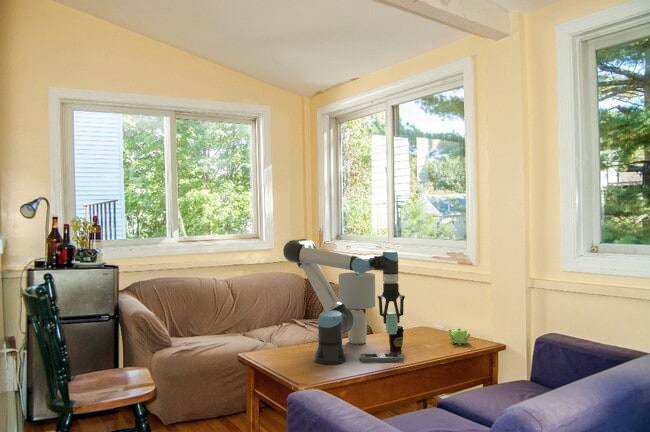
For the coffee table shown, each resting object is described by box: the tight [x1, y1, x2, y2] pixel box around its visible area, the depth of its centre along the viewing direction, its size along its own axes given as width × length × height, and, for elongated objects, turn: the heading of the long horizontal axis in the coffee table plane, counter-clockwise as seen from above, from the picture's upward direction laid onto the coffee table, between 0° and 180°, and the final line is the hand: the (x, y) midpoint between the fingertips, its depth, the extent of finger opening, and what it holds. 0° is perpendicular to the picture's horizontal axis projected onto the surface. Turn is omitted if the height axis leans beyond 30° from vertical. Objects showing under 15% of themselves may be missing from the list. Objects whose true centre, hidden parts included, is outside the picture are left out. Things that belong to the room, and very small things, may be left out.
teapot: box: [448, 327, 471, 346], centre depth 285 cm, size 11×12×8 cm
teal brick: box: [386, 311, 397, 335], centre depth 255 cm, size 4×4×10 cm
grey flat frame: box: [359, 352, 404, 363], centre depth 255 cm, size 20×9×2 cm, turn 93°
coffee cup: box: [388, 325, 405, 354], centre depth 269 cm, size 9×8×13 cm
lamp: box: [338, 271, 376, 345], centre depth 289 cm, size 20×20×39 cm
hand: (391, 329), depth 255 cm, fingers closed on teal brick, 4 cm apart
